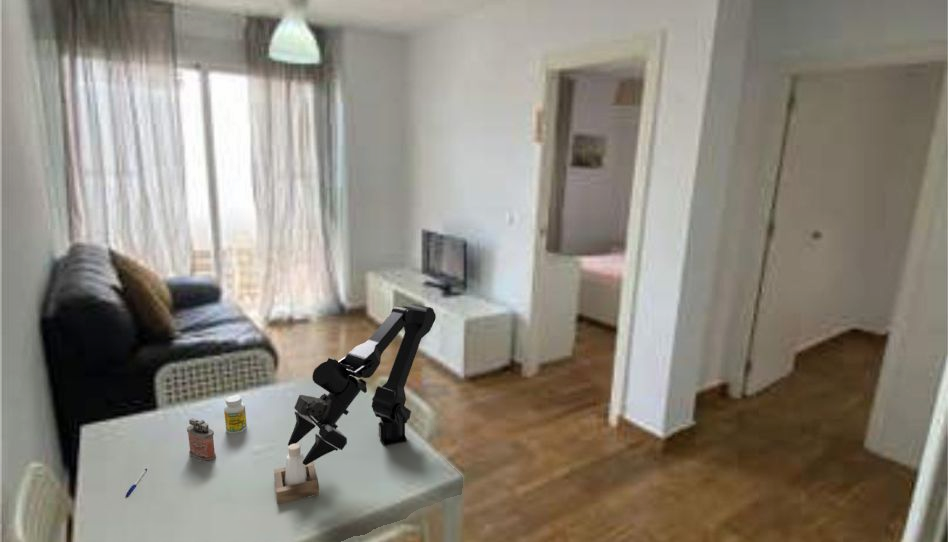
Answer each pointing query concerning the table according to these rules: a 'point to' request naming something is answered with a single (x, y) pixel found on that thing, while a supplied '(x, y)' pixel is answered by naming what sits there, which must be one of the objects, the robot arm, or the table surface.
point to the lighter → (201, 441)
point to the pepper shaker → (295, 466)
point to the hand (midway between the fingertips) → (296, 454)
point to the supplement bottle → (235, 415)
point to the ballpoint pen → (135, 483)
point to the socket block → (296, 485)
